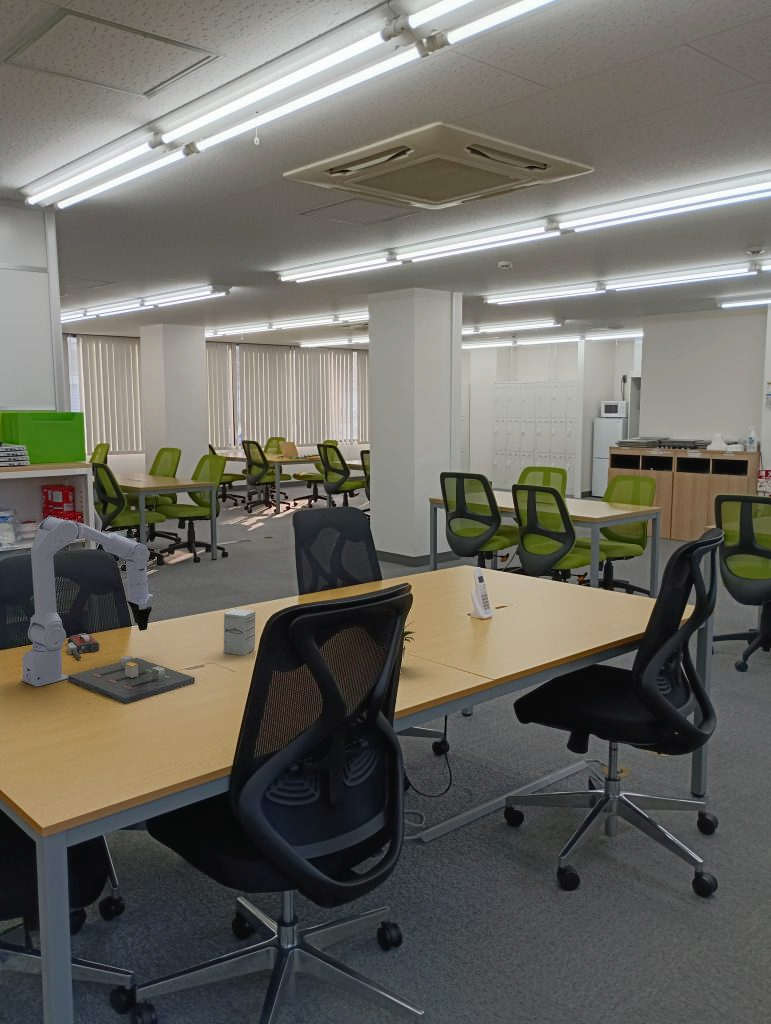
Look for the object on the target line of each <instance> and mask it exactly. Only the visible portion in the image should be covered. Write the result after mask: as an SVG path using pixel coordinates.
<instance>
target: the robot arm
mask: <svg viewBox="0 0 771 1024" xmlns="http://www.w3.org/2000/svg"><path fill="white" fill-rule="evenodd" d="M36 530H37V532H36V535H35V537H34V540H33V542H32V545H31V548H30V557H31V558H30V560H31V571H32V574H31V575H32V587H33V600H34V602H33V603H34V614H33V615H32V616H31V617H30V621H29V622H30V624H29V627H28V630H27V637H28V639H29V640H30V641H31V642H32V649H31V650H29V651H26V652H24V654H23V656H22V678H21V681H22V682H24V683H26V684H29V685H32V686H34V687H42V686H46V685H49V684H53V683H58V682H61V681H66V680H68V675H65V674H63V660H62V659H63V658H62V657H63V655H62V654H63V653H62V652H63V651H62V649H63V645H64V644H65V642H66V640H67V633H66V630H65V629H64V627H63V621H62V618H61V617H60V615H59V614H58V610H57V596H56V580H55V579H56V578H55V563H54V555H56V553H58V552H59V550H61V549H63V548H64V547H67V546H68V545H70V544H72V543H73V542H74V541H75V540H81V539H86V540H88V541H91V542H93V543H97V544H99V545H101V546H102V549H103V550H104V551H105V552H107V553H110V554H112V555H115V556H117V557H120V558H122V560H124V561H125V569H126V580H127V592H128V593H127V594H128V597H127V600H126V602H127V604H128V605H129V607H130V610H131V613H132V616H133V620H134V622H135V624H136V625H137V626H138V627H137V628H138V630H139V631H140V632H141V631H147V629H148V626H149V625H148V624H149V619H150V614H151V612H152V609H153V607H152V606H147V602H148V601H149V600H150V599H153V598H154V595H153V594H152V593H149V584H148V580H149V579H148V567H147V566H148V560H149V558H150V555H151V551H149V550H148V547H147V546H146V544H144V543H141V542H136V541H135V539H134V538H131V537H130V538H129V537H126V536H123V535H122V534H123V533H121V532H118V531H115V532H109V533H107V534H106V533H104V532H102V531H100V530H98V529H96V528H93V527H91V526H90V525H87V524H84V523H82V522H77V521H73V520H70V519H61V518H57V517H55V516H48V517H46V518H44V519H43V520H42V521H41V522H40V523H39V524H38V525H37V526H36Z"/></svg>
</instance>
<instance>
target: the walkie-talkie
mask: <svg viewBox="0 0 771 1024" xmlns="http://www.w3.org/2000/svg"><path fill="white" fill-rule="evenodd" d="M66 640H67V643H68V644H67V645H66V647H67V648H66V649H67V652H68V653H69V655H72V654H73V655H74V656H75V657H77V659H82V656H81V655H80V654H85V653H94V652H98V651H99V652H100V643H99V642H98V641H97V640H96V639H95V638H94V637H93V636H92V635H91V634H88V633H85V632H84V633H79V634H72V635H70V636H69V638H68V639H66Z"/></svg>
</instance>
